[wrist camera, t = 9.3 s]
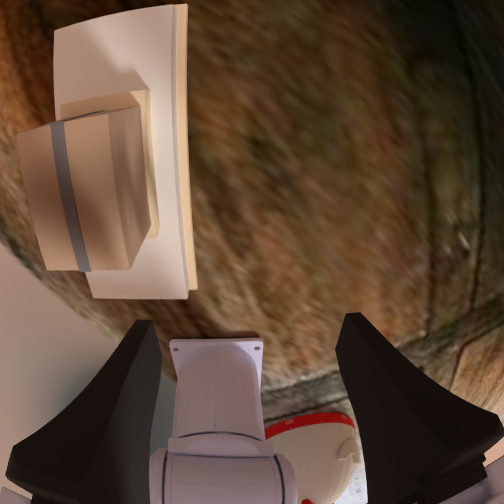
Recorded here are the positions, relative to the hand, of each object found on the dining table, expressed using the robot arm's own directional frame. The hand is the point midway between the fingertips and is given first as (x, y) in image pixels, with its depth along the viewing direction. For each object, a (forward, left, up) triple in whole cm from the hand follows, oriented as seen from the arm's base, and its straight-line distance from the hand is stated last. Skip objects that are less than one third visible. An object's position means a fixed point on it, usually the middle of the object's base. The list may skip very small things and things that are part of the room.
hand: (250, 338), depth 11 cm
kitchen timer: (-33, -9, -11) cm, 35 cm away
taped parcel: (+5, +7, -8) cm, 12 cm away
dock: (+4, +7, -10) cm, 13 cm away
